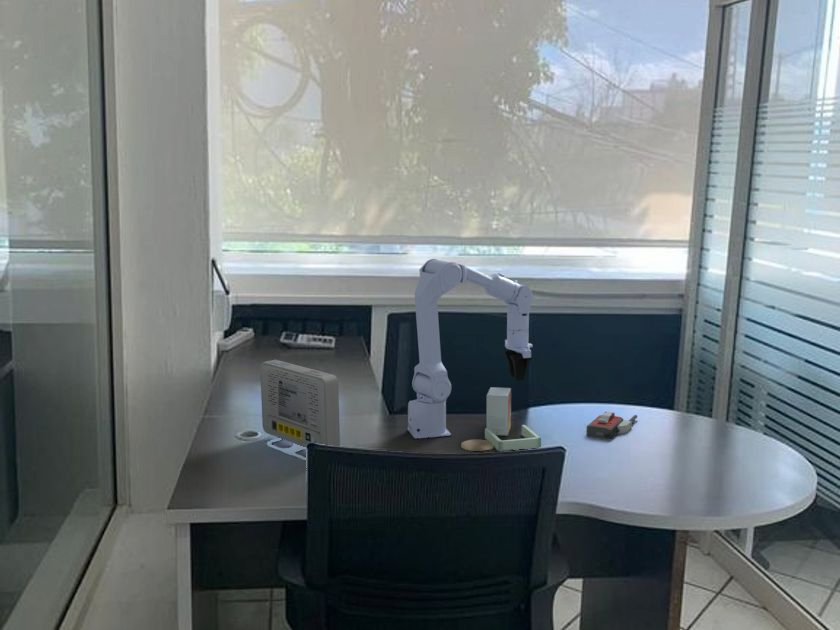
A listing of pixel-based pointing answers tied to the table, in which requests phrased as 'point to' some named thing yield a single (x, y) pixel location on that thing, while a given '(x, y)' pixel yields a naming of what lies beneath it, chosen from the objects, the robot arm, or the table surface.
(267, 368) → the network device
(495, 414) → the small box
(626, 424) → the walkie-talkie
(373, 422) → the table surface
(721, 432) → the table surface
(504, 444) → the bracket
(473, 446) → the cork coaster
